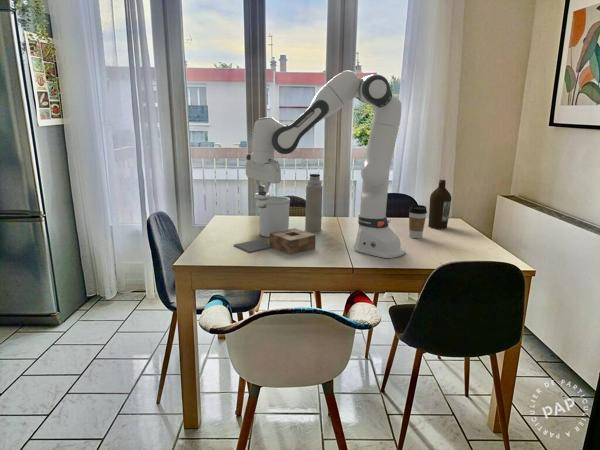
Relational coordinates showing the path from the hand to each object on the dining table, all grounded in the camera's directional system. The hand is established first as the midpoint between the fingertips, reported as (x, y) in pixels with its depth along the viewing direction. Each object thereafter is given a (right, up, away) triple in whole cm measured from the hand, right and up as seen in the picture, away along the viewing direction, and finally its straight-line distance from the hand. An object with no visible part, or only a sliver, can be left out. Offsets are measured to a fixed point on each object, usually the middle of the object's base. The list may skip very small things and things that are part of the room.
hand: (262, 190), depth 180 cm
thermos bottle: (+22, -17, +35) cm, 45 cm away
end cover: (0, -7, +2) cm, 7 cm away
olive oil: (+88, -16, +47) cm, 101 cm away
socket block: (+12, -24, +6) cm, 28 cm away
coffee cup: (+71, -20, +27) cm, 79 cm away
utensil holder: (+3, -19, +27) cm, 33 cm away
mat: (-5, -24, +6) cm, 25 cm away
